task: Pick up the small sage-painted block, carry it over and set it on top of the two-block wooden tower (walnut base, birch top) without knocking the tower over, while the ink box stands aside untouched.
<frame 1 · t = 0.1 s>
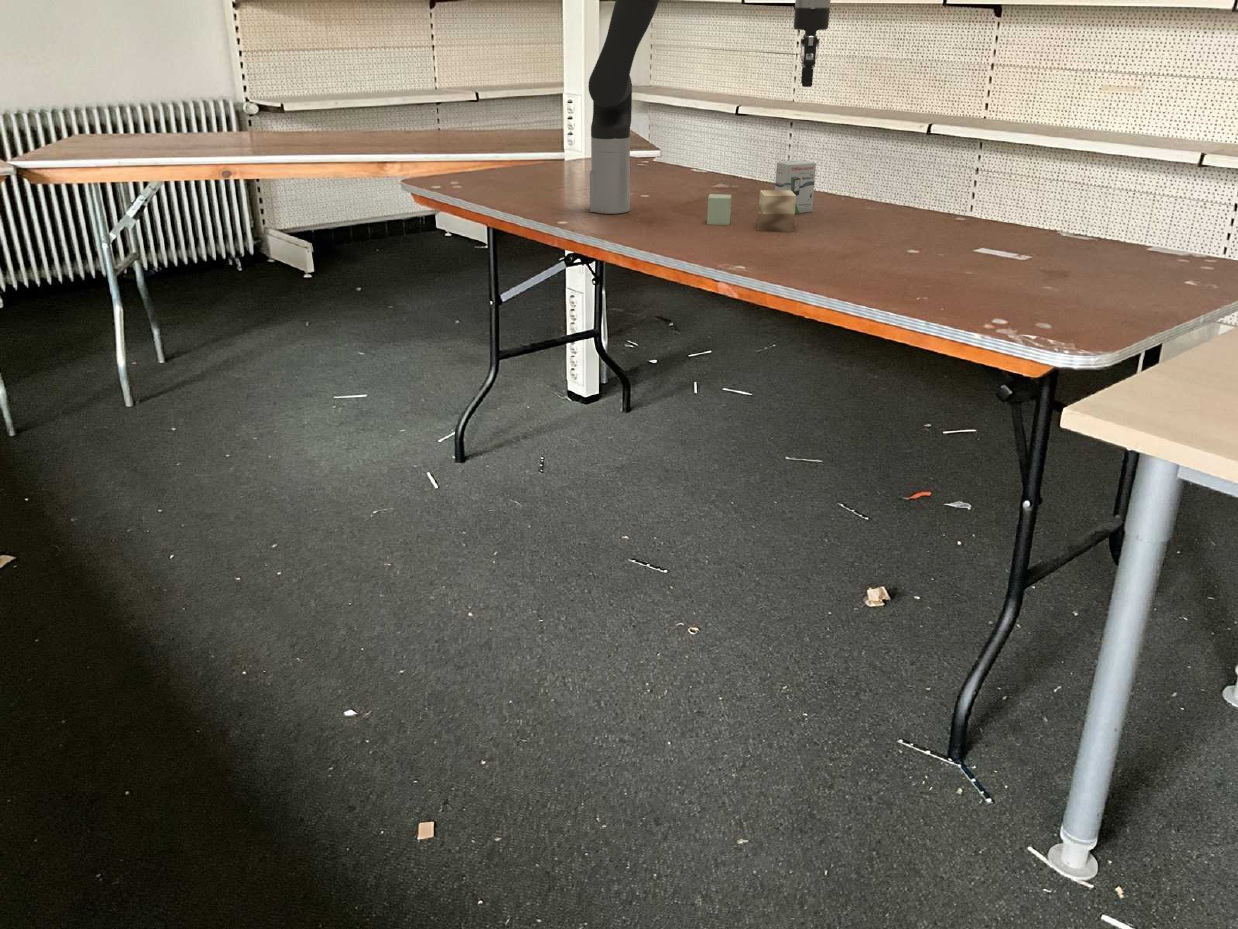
hand: (806, 85, 219), 29 cm above the table, fingers open, 8 cm apart
tower top: (776, 211, 218), point 4 cm above the table, touching tower base
tower base: (775, 229, 220), on the table, touching tower top
ink box: (792, 212, 237), on the table
sage block: (718, 222, 225), on the table
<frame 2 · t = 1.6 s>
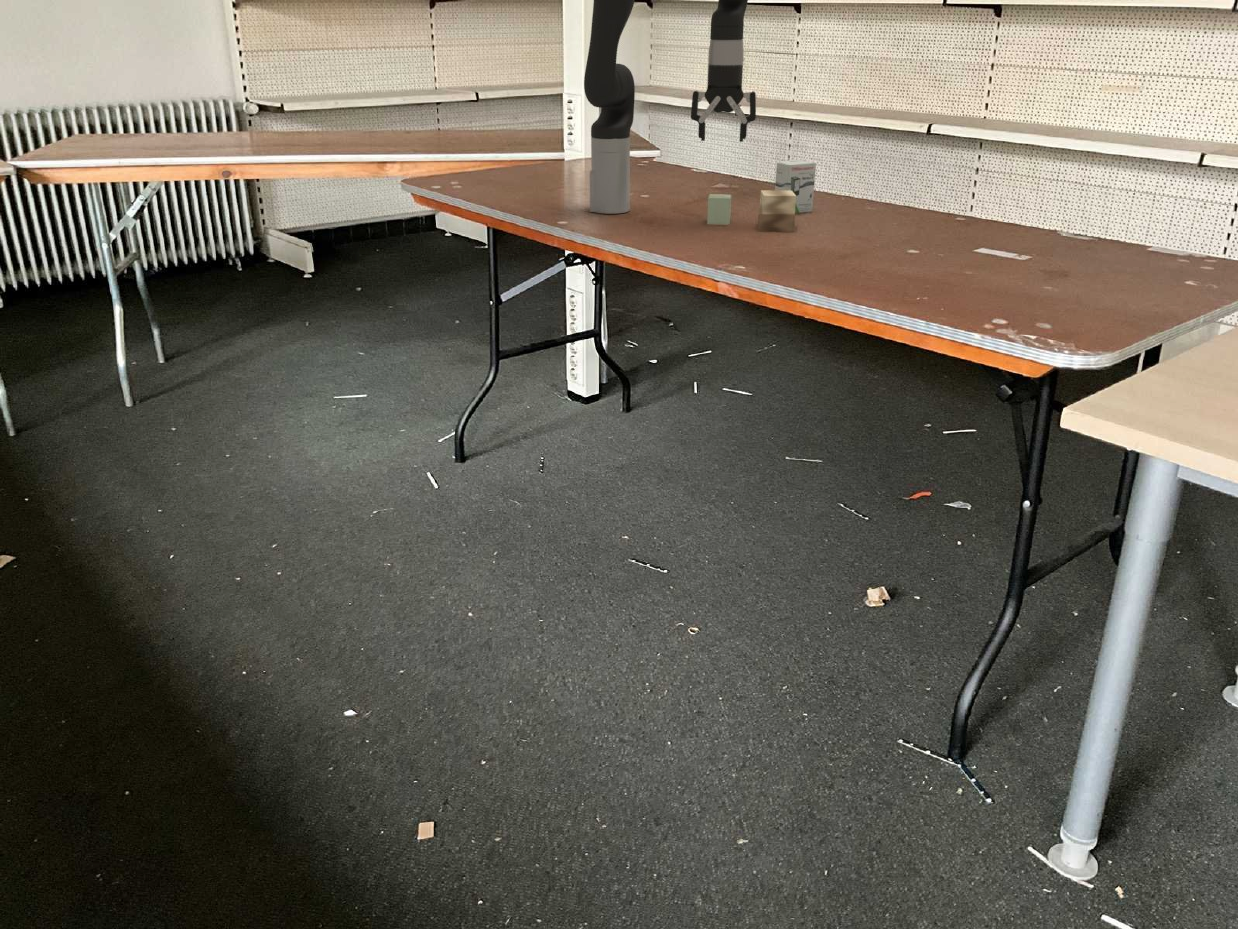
hand: (722, 140, 217), 18 cm above the table, fingers open, 8 cm apart
nothing on the table moved.
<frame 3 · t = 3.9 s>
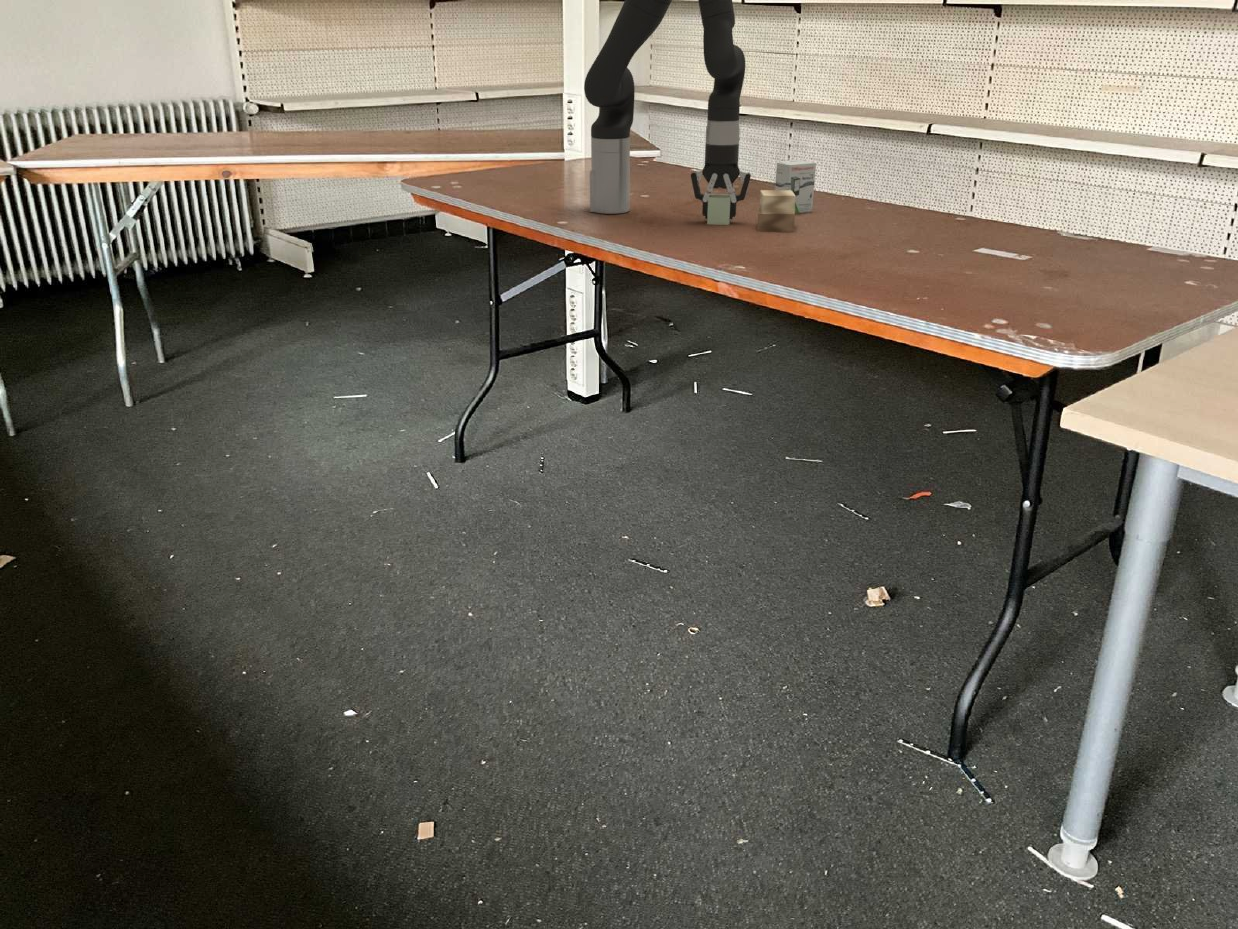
hand: (719, 218, 225), 1 cm above the table, fingers closed on sage block, 5 cm apart
sage block: (718, 222, 225), on the table, touching gripper
everything else where it was.
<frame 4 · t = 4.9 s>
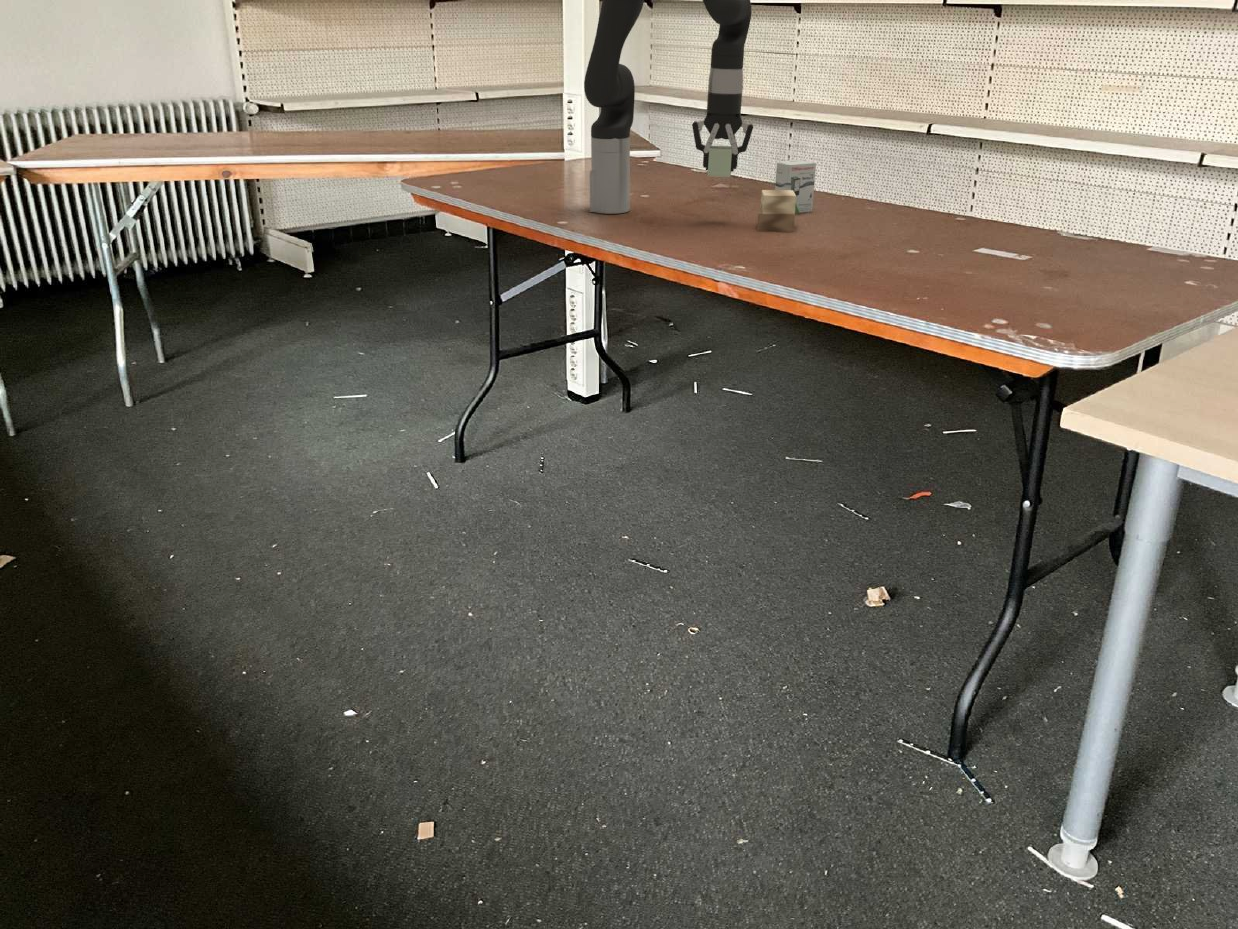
hand: (719, 170, 220), 12 cm above the table, fingers closed on sage block, 5 cm apart
sage block: (719, 174, 221), point 11 cm above the table, touching gripper
everything else where it was.
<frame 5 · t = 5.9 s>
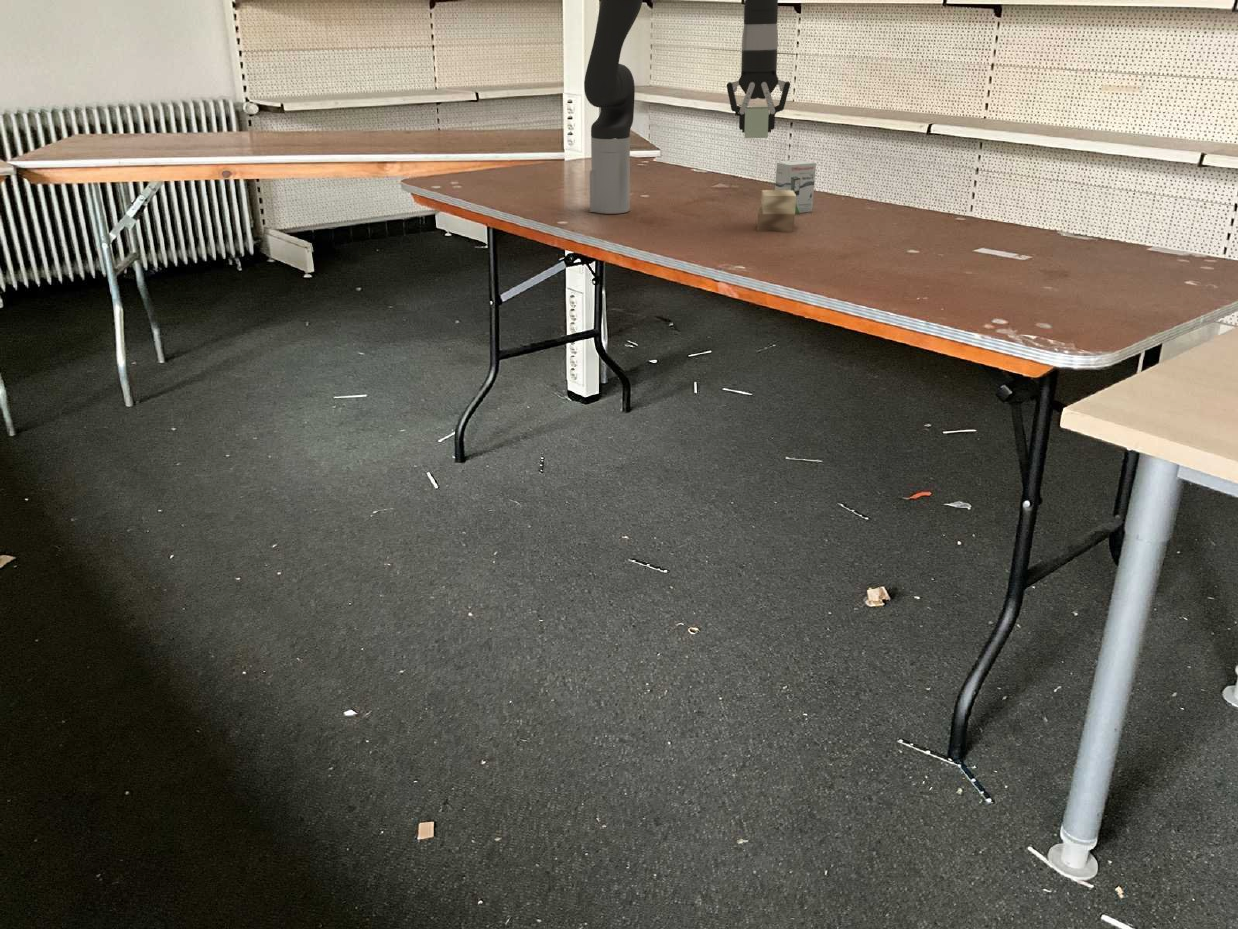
hand: (756, 131, 213), 20 cm above the table, fingers closed on sage block, 5 cm apart
tower top: (777, 211, 218), point 4 cm above the table
tower base: (775, 228, 220), on the table
sage block: (756, 136, 213), point 19 cm above the table, touching gripper
everything else where it was.
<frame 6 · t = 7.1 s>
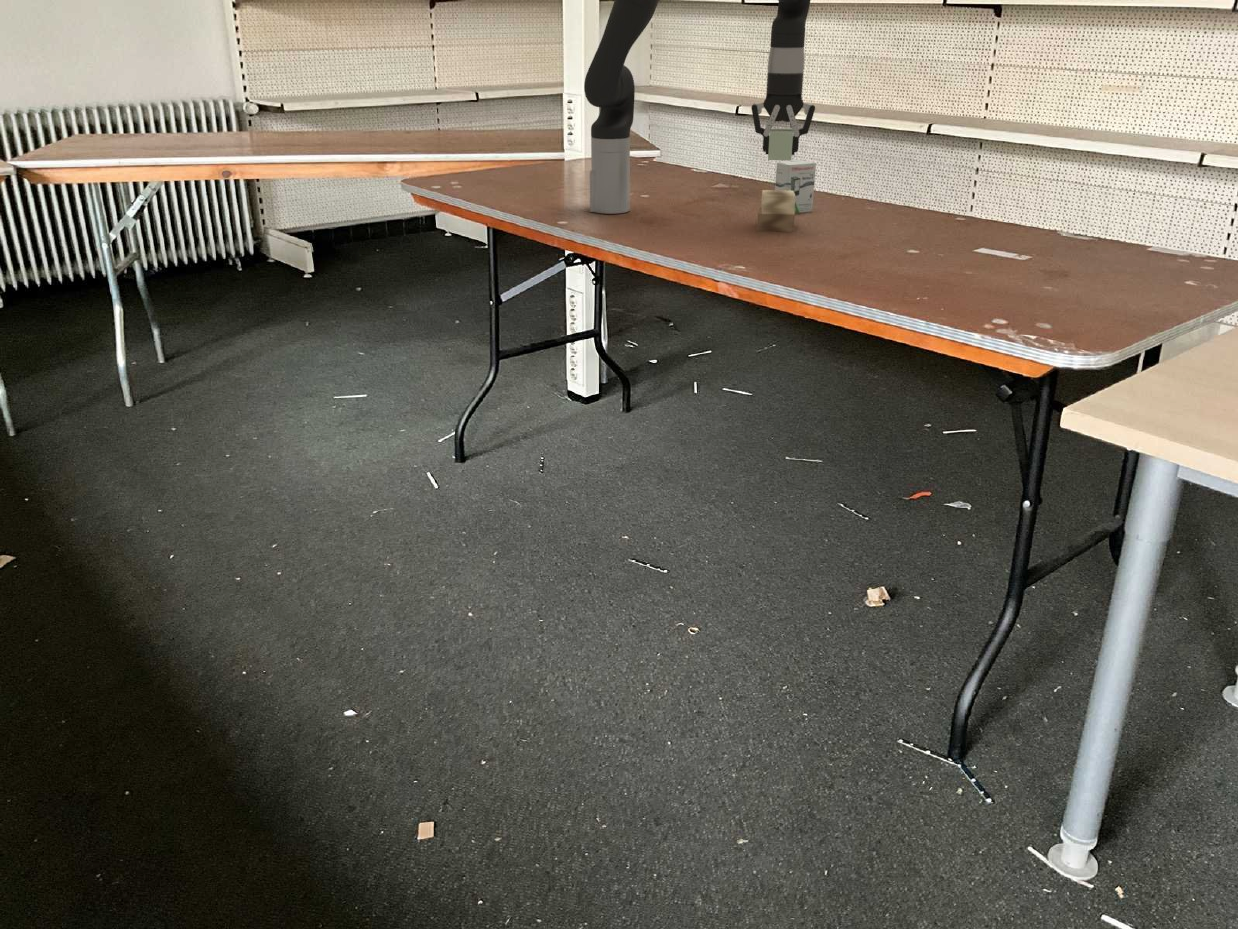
hand: (780, 153, 213), 16 cm above the table, fingers closed on sage block, 5 cm apart
tower top: (777, 211, 218), point 4 cm above the table, touching tower base
tower base: (775, 228, 220), on the table, touching tower top
sage block: (779, 158, 213), point 15 cm above the table, touching gripper
everything else where it was.
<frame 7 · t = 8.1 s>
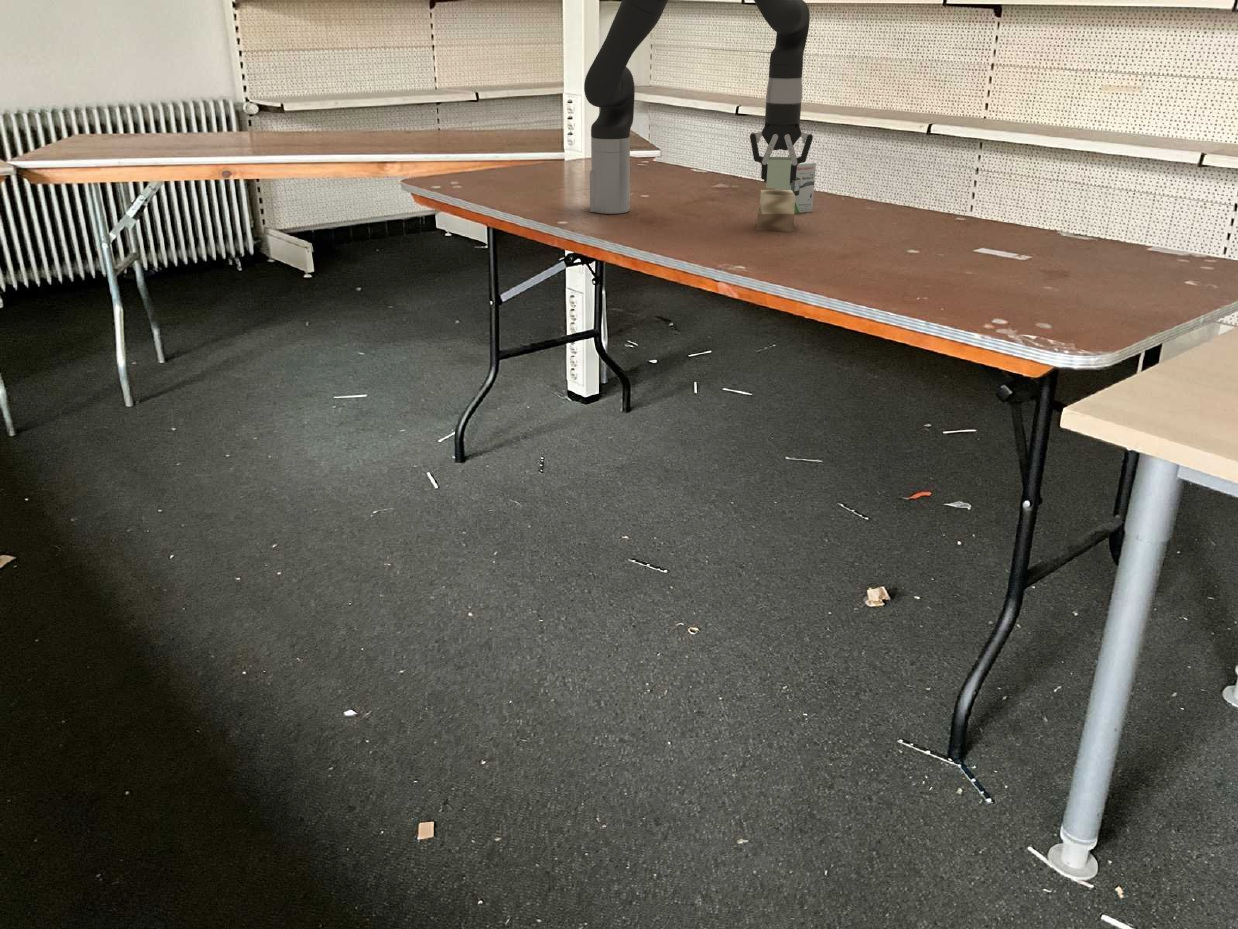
hand: (778, 181, 215), 10 cm above the table, fingers closed on sage block, 5 cm apart
sage block: (777, 186, 216), point 9 cm above the table, touching gripper
everything else where it was.
when the fingers open (10 cm above the table, at t = 8.6 s): sage block drops 1 cm, resting on tower top.
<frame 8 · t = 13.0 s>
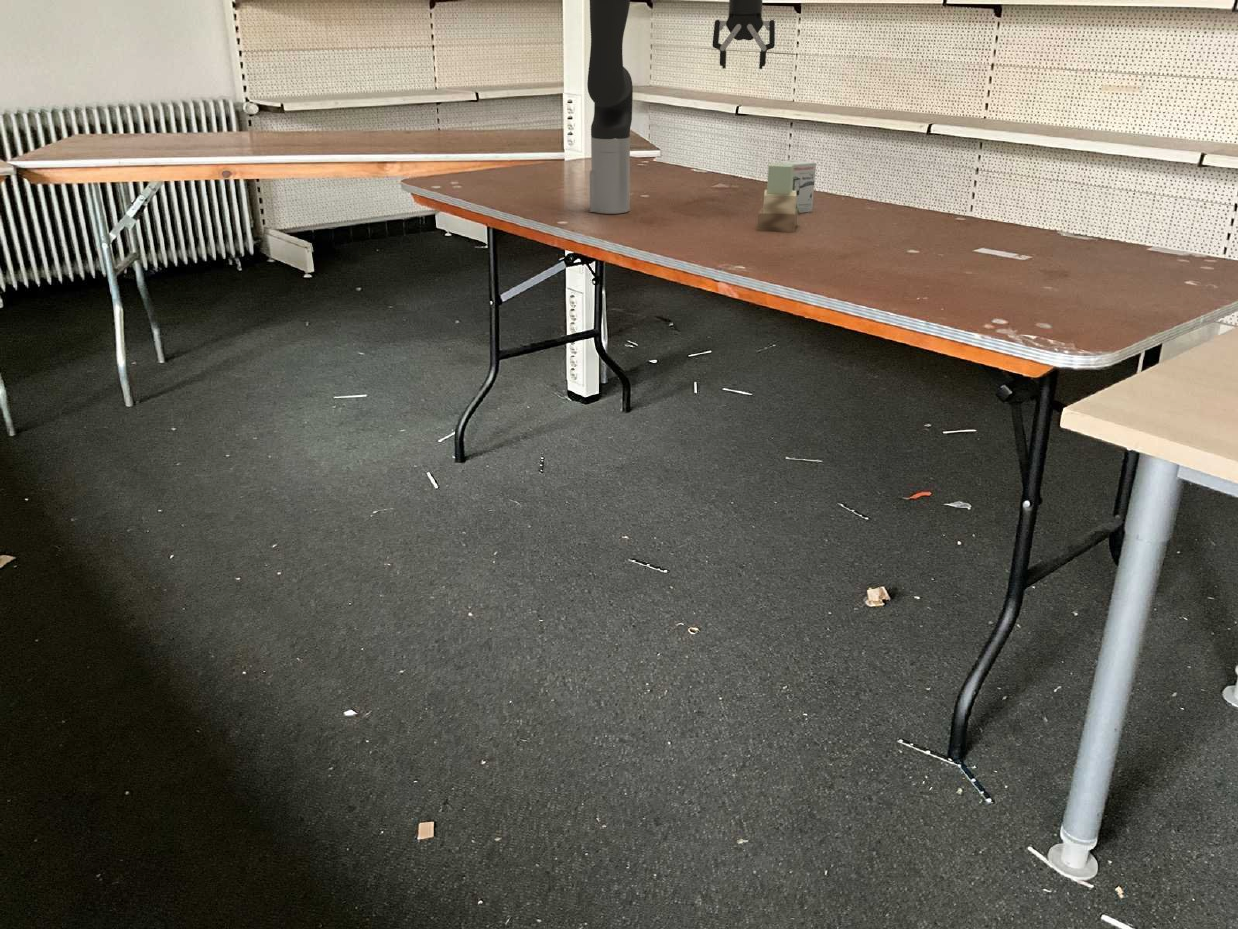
hand: (742, 68, 227), 32 cm above the table, fingers open, 8 cm apart
tower top: (779, 210, 218), point 4 cm above the table, touching sage block, tower base
sage block: (779, 192, 216), point 8 cm above the table, touching tower top
everything else where it was.
at the end: sage block inside the target area on the tower top (0.2 cm from its centre), point 4.0 cm above the tower top's base; sage block tilted 1°; tower top moved 0.7 cm from its start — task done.
